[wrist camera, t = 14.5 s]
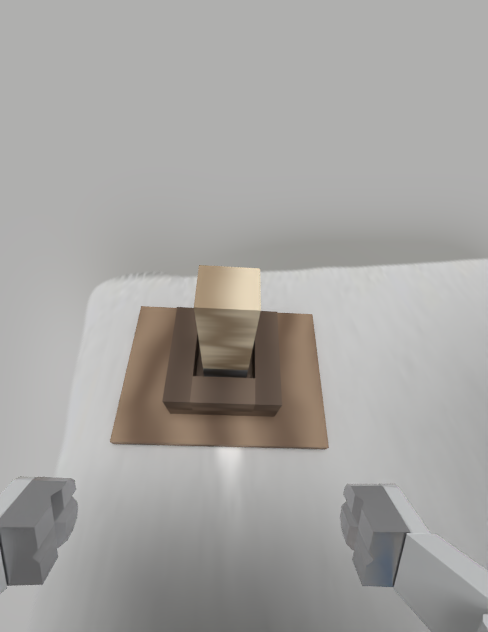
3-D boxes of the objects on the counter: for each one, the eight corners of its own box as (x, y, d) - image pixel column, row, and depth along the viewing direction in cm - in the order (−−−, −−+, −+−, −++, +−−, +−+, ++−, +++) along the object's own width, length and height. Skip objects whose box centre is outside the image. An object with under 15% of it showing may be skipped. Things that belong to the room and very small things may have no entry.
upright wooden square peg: (246, 349, 33) (259, 268, 21) (245, 380, 32) (260, 310, 20) (207, 347, 33) (199, 265, 21) (204, 378, 31) (193, 307, 19)
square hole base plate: (310, 318, 40) (323, 293, 34) (325, 449, 31) (345, 440, 26) (143, 311, 39) (131, 283, 33) (113, 443, 30) (91, 433, 25)
